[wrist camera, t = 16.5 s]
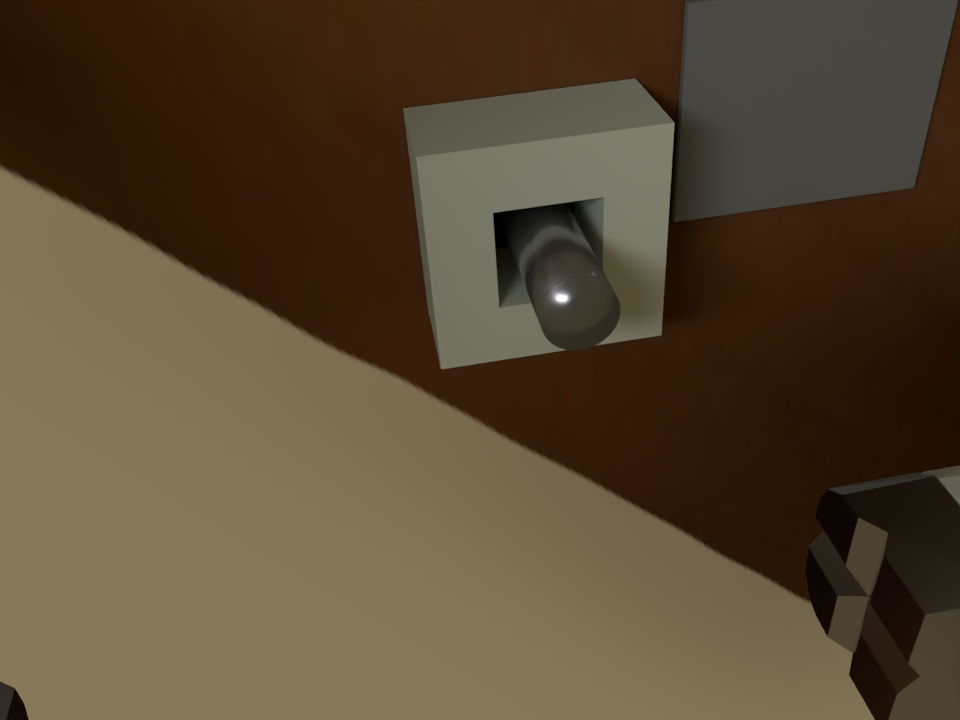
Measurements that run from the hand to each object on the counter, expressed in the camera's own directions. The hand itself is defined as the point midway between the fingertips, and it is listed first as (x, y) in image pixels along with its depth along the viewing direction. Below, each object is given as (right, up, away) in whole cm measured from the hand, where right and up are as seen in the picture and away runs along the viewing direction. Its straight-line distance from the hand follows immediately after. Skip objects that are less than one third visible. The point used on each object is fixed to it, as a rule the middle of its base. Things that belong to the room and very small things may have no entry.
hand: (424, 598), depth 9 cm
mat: (+15, +14, +32) cm, 38 cm away
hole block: (+3, +10, +33) cm, 34 cm away
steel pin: (+3, +10, +32) cm, 34 cm away
